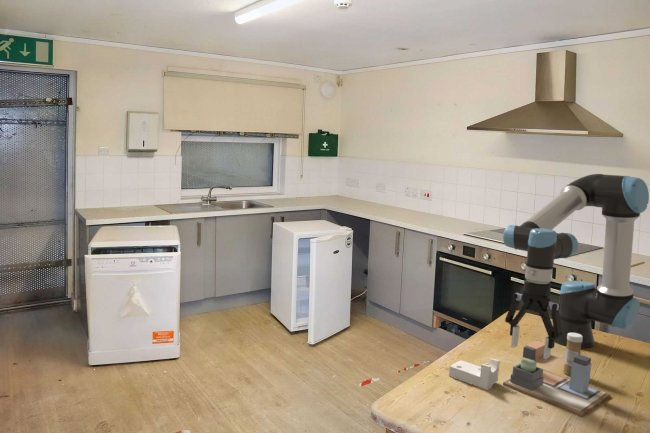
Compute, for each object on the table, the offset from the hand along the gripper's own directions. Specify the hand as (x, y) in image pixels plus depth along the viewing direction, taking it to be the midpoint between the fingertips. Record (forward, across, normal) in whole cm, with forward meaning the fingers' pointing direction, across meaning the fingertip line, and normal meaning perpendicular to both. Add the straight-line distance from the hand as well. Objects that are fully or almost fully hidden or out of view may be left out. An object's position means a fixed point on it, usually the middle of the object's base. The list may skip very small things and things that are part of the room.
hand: (530, 351), depth 165 cm
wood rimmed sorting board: (+11, +7, +5) cm, 14 cm away
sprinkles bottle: (+11, +4, +21) cm, 24 cm away
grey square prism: (+10, +12, +9) cm, 18 cm away
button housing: (+11, 0, 0) cm, 11 cm away
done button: (+6, 0, 0) cm, 6 cm away
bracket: (+12, -13, -9) cm, 20 cm away
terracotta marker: (+9, -11, +31) cm, 34 cm away
